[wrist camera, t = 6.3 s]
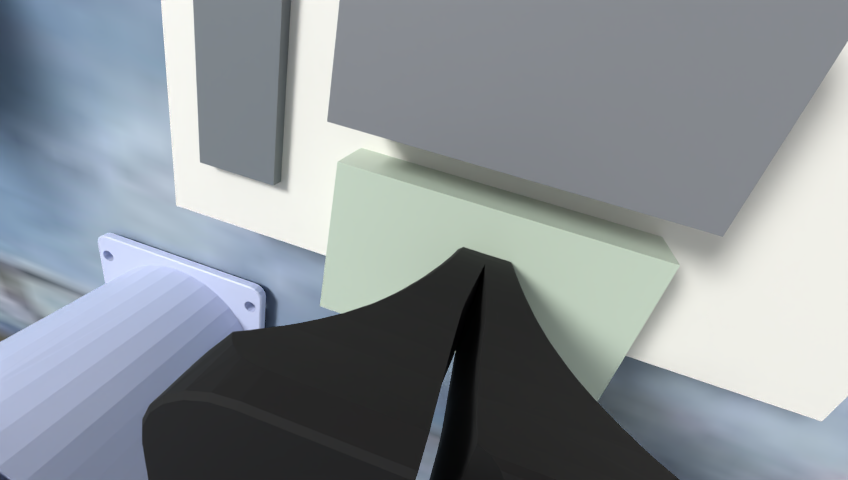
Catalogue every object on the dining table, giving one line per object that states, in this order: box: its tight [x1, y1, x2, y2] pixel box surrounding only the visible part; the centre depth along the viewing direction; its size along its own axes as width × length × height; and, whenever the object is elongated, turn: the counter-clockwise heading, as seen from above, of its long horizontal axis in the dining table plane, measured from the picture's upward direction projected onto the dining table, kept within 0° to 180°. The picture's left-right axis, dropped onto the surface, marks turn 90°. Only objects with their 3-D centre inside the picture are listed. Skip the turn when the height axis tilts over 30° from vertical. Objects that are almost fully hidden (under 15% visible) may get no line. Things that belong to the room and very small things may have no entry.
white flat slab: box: [161, 0, 848, 421], centre depth 10 cm, size 14×20×3 cm
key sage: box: [320, 148, 680, 402], centre depth 11 cm, size 4×8×2 cm, turn 77°
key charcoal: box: [327, 0, 848, 237], centre depth 8 cm, size 4×8×2 cm, turn 77°
